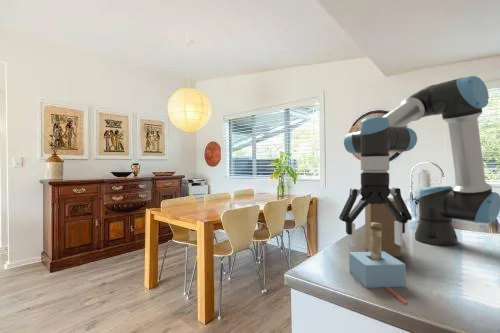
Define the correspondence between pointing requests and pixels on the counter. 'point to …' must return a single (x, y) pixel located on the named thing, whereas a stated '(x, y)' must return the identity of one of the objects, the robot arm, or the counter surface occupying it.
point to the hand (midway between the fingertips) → (375, 245)
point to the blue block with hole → (377, 270)
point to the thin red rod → (396, 295)
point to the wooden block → (386, 219)
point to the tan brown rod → (376, 241)
